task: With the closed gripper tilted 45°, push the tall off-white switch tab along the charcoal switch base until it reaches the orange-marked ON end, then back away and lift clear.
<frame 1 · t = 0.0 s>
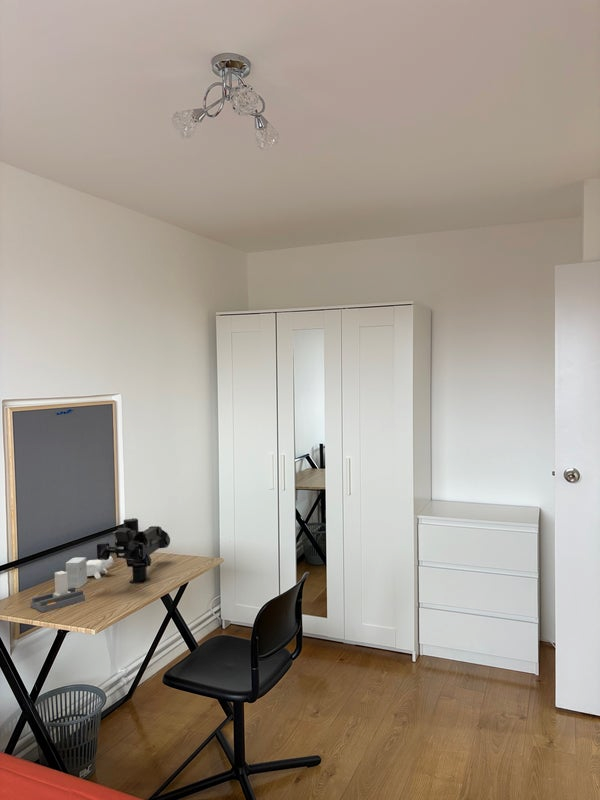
hand: (111, 557, 228), 17 cm above the table, tool horizontal, fingers open, 9 cm apart
small box: (76, 586, 249), on the table
switch base: (58, 603, 227), on the table
white toy figurine: (96, 576, 262), on the table
switch tab: (61, 584, 228), point 7 cm above the table, slide at 0.0 cm
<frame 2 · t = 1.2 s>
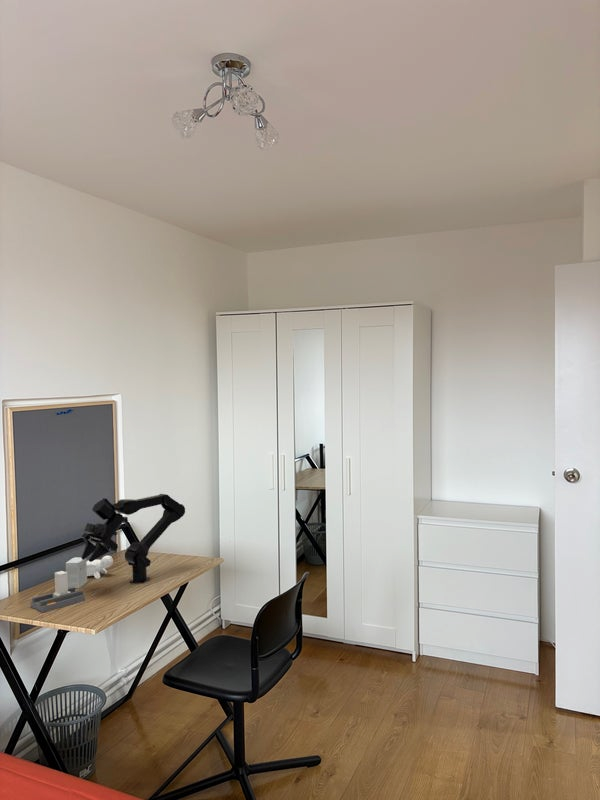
hand: (85, 560, 235), 14 cm above the table, tool tilted 45°, fingers open, 5 cm apart
nothing on the table moved.
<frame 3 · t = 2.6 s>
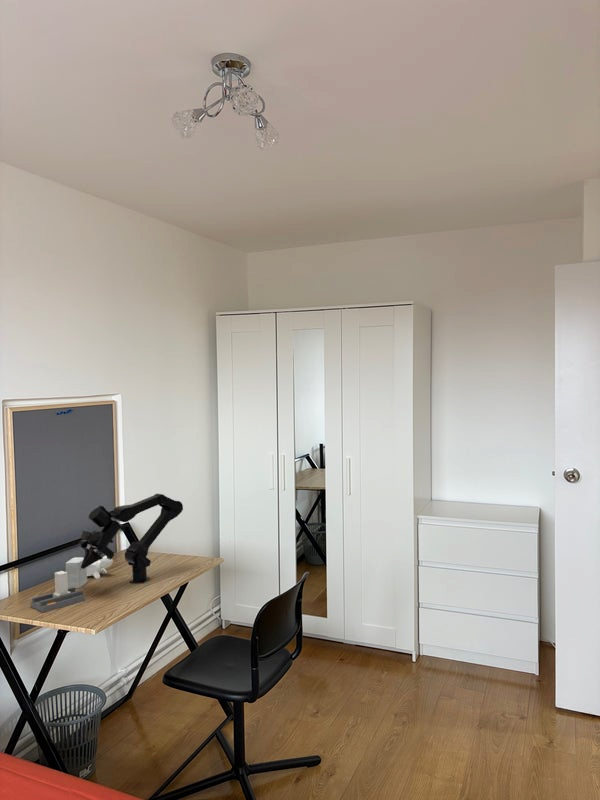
hand: (81, 568, 234), 11 cm above the table, tool tilted 45°, fingers closed
nothing on the table moved.
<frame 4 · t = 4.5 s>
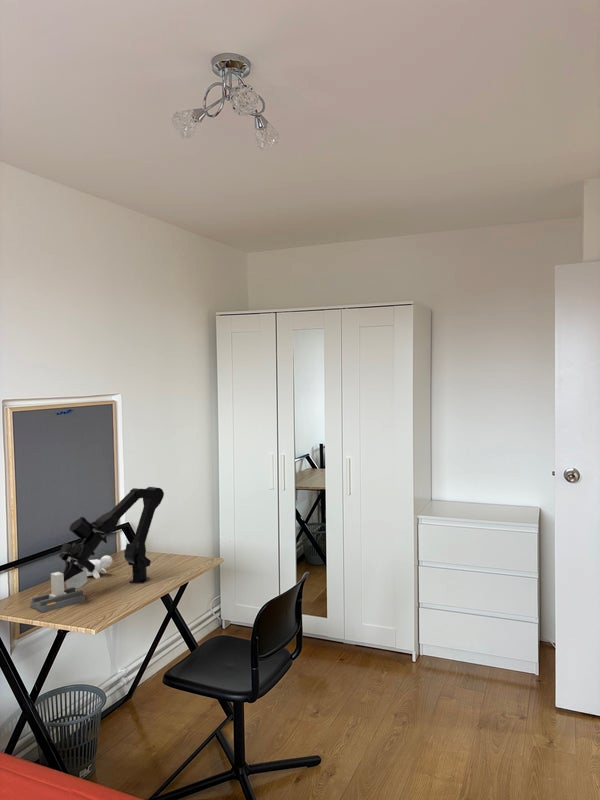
hand: (62, 581, 228), 8 cm above the table, tool tilted 45°, fingers closed, pressing on switch tab
switch tab: (57, 585, 227), point 7 cm above the table, slide at 1.5 cm, touching gripper
everything else where it was.
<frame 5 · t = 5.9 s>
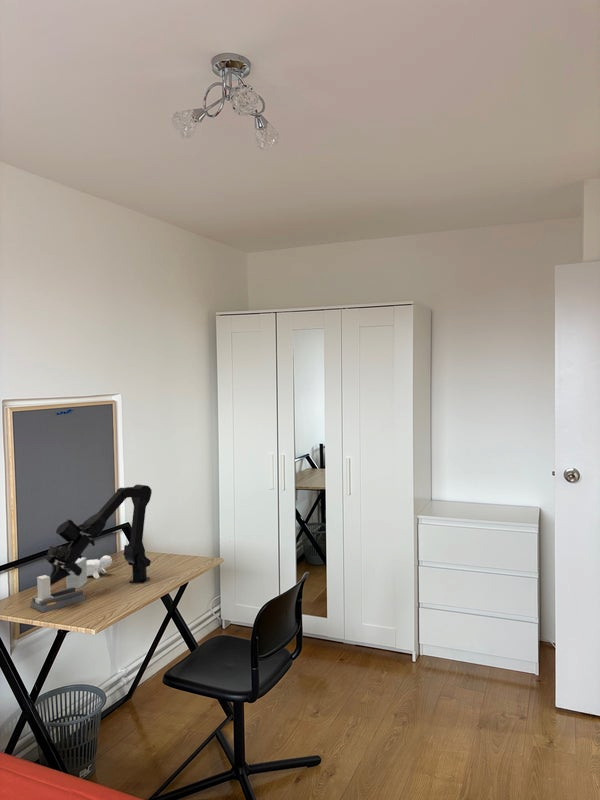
hand: (48, 585, 225), 8 cm above the table, tool tilted 45°, fingers closed, pressing on switch tab
switch tab: (44, 589, 223), point 7 cm above the table, slide at 6.6 cm, touching gripper
everything else where it was.
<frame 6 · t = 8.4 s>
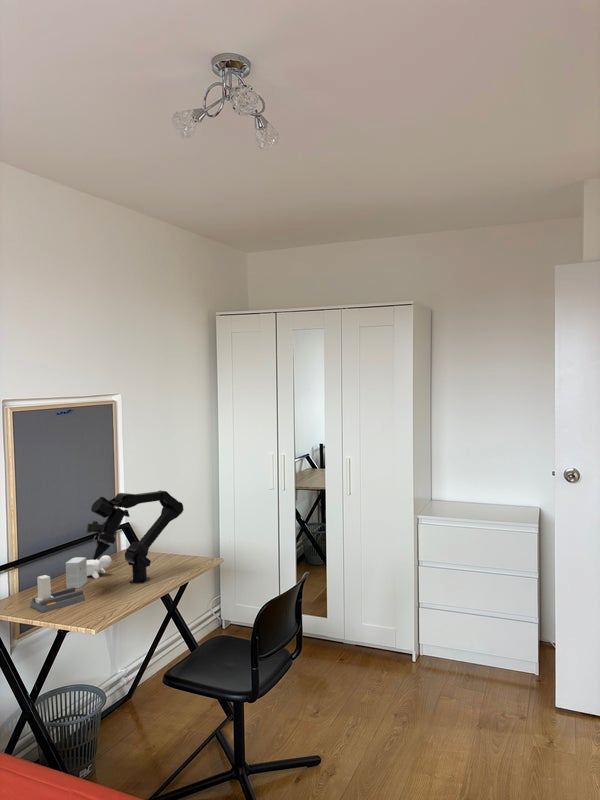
hand: (94, 559, 238), 13 cm above the table, tool tilted 35°, fingers closed
switch tab: (44, 589, 223), point 7 cm above the table, slide at 6.5 cm
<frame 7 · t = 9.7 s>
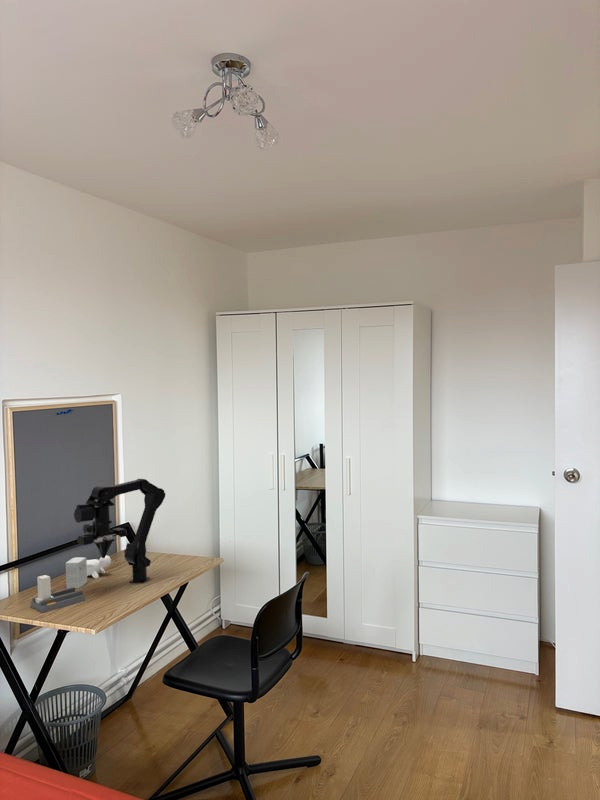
hand: (103, 557, 241), 13 cm above the table, tool pointing down, fingers closed
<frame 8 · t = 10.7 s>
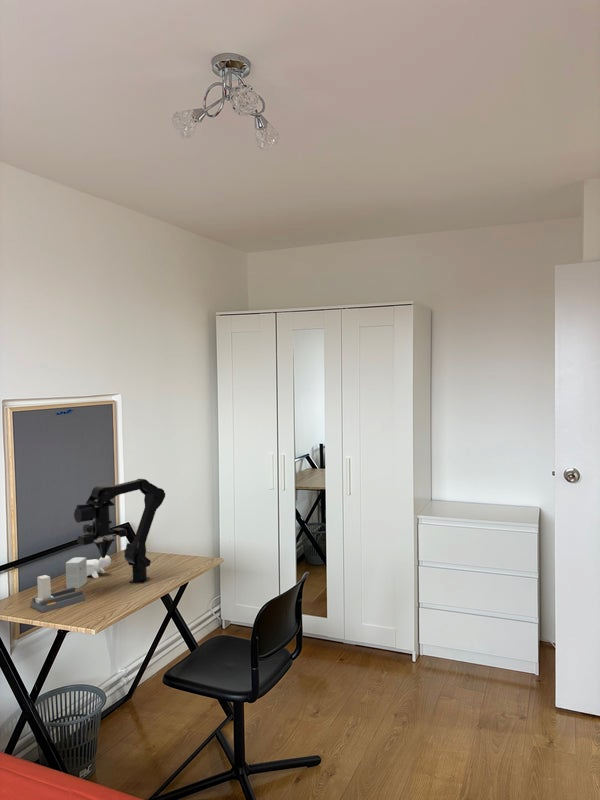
hand: (103, 557, 241), 13 cm above the table, tool pointing down, fingers closed
at the end: switch tab slide at 6.5 cm; small box moved 0.3 cm from its start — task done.
